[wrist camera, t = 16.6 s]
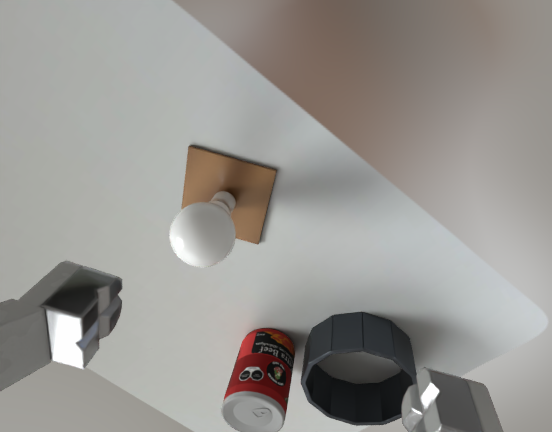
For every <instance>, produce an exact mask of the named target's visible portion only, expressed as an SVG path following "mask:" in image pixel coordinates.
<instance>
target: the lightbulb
mask: <svg viewBox="0 0 552 432" xmlns="http://www.w3.org/2000/svg"><path fill="white" fill-rule="evenodd" d="M235 205H236V201H235V198H234V197H233V196H232V195H231V194H230V193H228V192H226V191H220V192H217V193H216V194H215V195H214V197H213V198H212V199H211V201H209V202H198V203H193V204H191V205H188V206H186V207H185V208H183V209H182V210H181V211H180V212H179V213H178V214H177V215H176V216H175V218H174V220H173V222H172V224H171V227H170V233H169V237H170V243H171V246H172V249H173V251H174V252H175V254H176V255H177V256H178V257H179V258H180V259H181V260H182V261H183V262H185V263H187V264H189V265H191V266H195V267H210V266H214V265H216V264H218V263H220V262H221V261H223V260H224V259H225V258H226V257H227V256H228V255H229V254H230V252H231V251H232V249H233V246H234V244H235V239H236V230H235V225H234V222H233V220H232V218H231V213H232V211H233V210H234V208H235Z"/></svg>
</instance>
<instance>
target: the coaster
mask: <svg viewBox="0 0 552 432" xmlns="http://www.w3.org/2000/svg"><path fill="white" fill-rule="evenodd" d="M276 171H277V170H275V169H271V168H268V167H264V166H261V165H257V164H253V163H250V162H246V161H243V160H239V159H236V158H232V157H229V156H225V155H221V154H218V153H214V152H211V151H207V150H204V149H200V148H196V147H193V146H189V147H188V156H187V165H186V174H185V183H184V192H183V201H182V209H183V208H185V207H186V206H188V205H191V204H193V203H198V202H209V201H211V199H212V198H213V197H214V195H215V194H216V193H217V192H220V191H226V192H228V193H230V194H231V195H232V196H233V197H234V198H235V201H236V205H235V208H234V210H233V211H232V213H231V218H232V220H233V222H234V225H235V230H236V238H237V239H241V240H244V241H248V242H251V243H255V244H259V240H260V236H261V232H262V228H263V224H264V220H265V216H266V212H267V208H268V204H269V200H270V196H271V192H272V188H273V184H274V180H275V176H276ZM182 209H181V210H182Z"/></svg>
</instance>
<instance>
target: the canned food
mask: <svg viewBox="0 0 552 432" xmlns="http://www.w3.org/2000/svg"><path fill="white" fill-rule="evenodd" d="M294 357H295V350H294V345H293V343H292V341H291V340H290V338H289V337H288V336H286V335H285V334H283V333H282V332H280V331H277V330H274V329H268V328H263V329H257V330H254V331H252V332H250V333H249V334H248V335H247V336H246V337H245V339H244V340H243V342H242V344H241V347H240V350H239V354H238V357H237V360H236V363H235V366H234V369H233V372H232V375H231V378H230V381H229V385H228V388H227V391H226V394H225V397H224V401H223V404H222V409H221V413H222V417H223V419H224V420H225V421H226V423H227V424H228V425H230V426H231V427H232V428H234V429H235V430H237V431H240V432H278V431H279V430H280V429H281V428H282V426H283V425H284V421H285V416H286V410H287V404H288V397H289V390H290V384H291V377H292V370H293V364H294Z"/></svg>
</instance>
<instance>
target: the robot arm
mask: <svg viewBox="0 0 552 432" xmlns="http://www.w3.org/2000/svg"><path fill="white" fill-rule="evenodd" d="M121 290H122V279H121V278H120V277H117V276H114V275H111V274H108V273H105V272H102V271H99V270H96V269H93V268H89V267H86V266H82V265H79V264H76V263H73V262H70V261H64V262H61V263H59V264H58V265H57V266H56V267H55V268H54V269H53V270H51V271H50V272H49V273H48V274H47V275H46V276H45V277H44V278H42V279H41V280H40V281H39V282H38V283H37V284H36V285H34V286H33V287H32V288H31V289H30V290H29V291H28V292H27V293H25V294H24V295H23V296H22V297H21V298H20V299H19V300H14V299H10V300H7V301H4V302H1V303H0V391H2V390H3V389H5V388H7V387H9V386H10V385H12V384H14V383H15V382H17V381H19V380H21V379H23V378H24V377H26V376H28V375H30V374H31V373H33V372H35V371H37V370H38V369H40V368H42V367H44V366H45V365H47V364H49V363H50V362H51V361H55V362H59V363H62V364H66V365H70V366H73V367H77V368H81V369H84V368H85V367H86V366H87V364H88V363H89V362H90V360H91V359H92V357H93V356H94V355H95V353H96V352H97V351H98V349H99V339H101V338H104V337H106V336H108V335H109V334H110V333H111V331H112V330H113V329H114V327H115V325H116V323H117V321H118V319H119V317H120V313H121V309H122V300H121V299H120V297H119V296H118V293H119V292H120V291H121ZM416 378H417V383H416V384H414V385H411V386H409V387H408V389H407V391H406V392H405V394H404V397H403V401H402V409H401V415H402V423H403V425H404V426H405V428H406V429H407V431H408V432H503V430H502V427H501V424H500V421H499V419H498V416H497V414H496V411H495V408H494V405H493V402H492V400H491V397H490V395H489V392H488V389H487V388H486V386H485V385H484V384H482V383H478V382H475V381H472V380H468V379H464V378H461V377H458V376H454V375H451V374H447V373H444V372H440V371H437V370H433V369H430V368H426V367H424V368H422V369H420V371H419V372H418V374H417V375H416Z"/></svg>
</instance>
